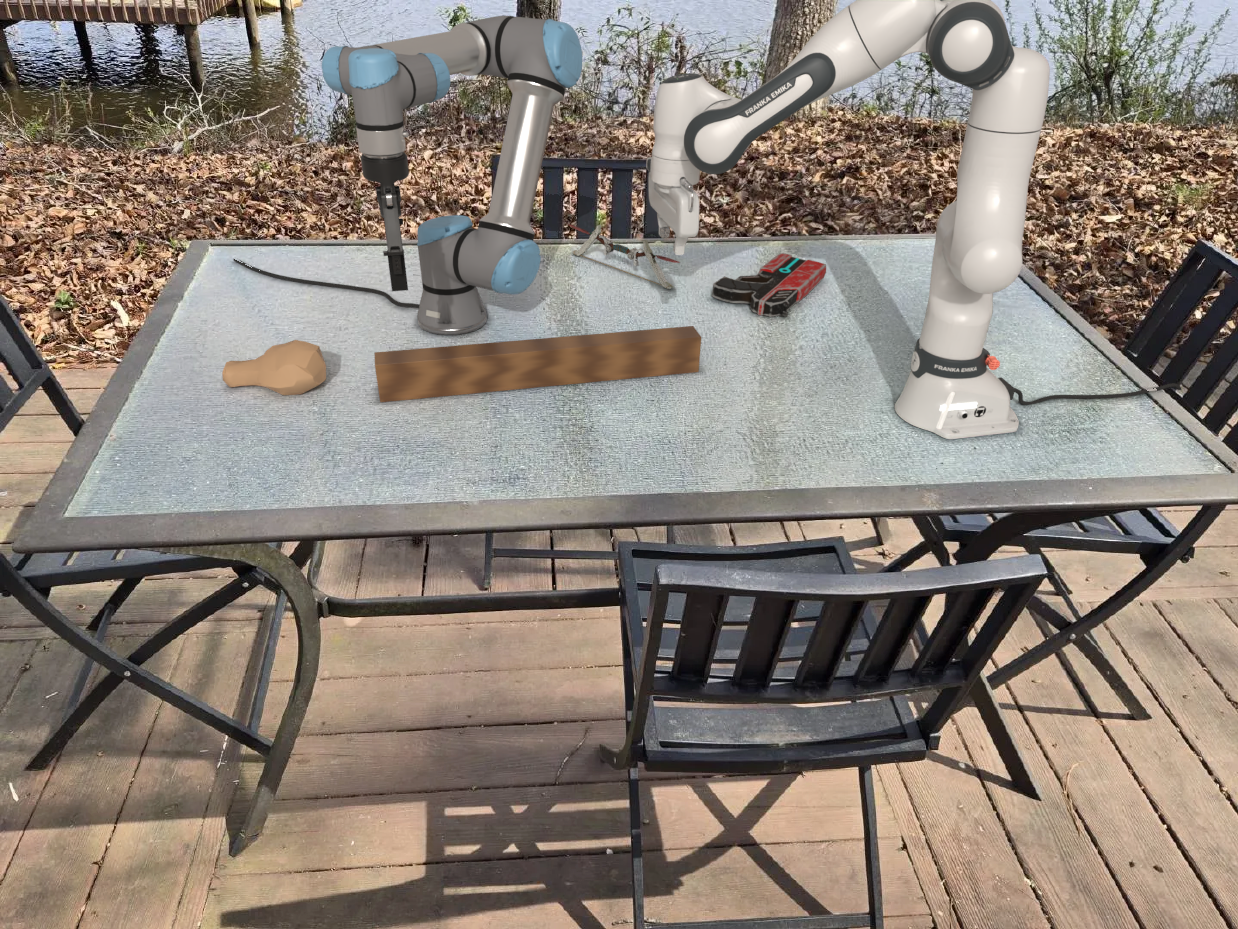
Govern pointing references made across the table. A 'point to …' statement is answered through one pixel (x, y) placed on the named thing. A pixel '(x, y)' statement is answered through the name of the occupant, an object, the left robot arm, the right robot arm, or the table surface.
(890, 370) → the table surface
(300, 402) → the table surface
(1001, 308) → the table surface
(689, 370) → the post
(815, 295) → the table surface
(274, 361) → the squash
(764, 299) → the gun
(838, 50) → the right robot arm
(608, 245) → the bow
